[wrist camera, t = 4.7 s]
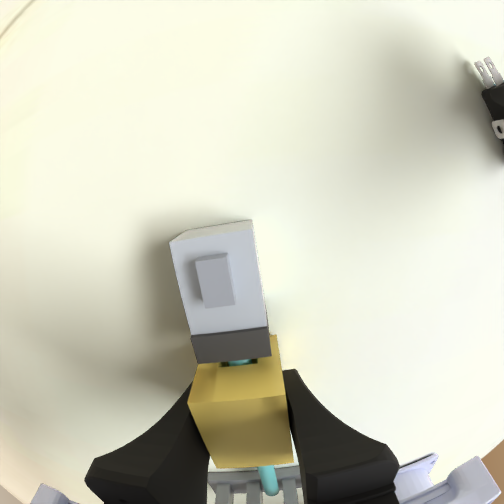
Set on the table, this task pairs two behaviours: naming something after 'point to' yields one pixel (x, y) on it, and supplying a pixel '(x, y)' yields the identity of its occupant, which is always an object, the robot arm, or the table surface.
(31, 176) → the table surface
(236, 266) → the connector
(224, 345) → the band
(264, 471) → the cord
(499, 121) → the push button
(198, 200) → the table surface
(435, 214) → the table surface
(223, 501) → the cable comb
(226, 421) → the marker sleeve
